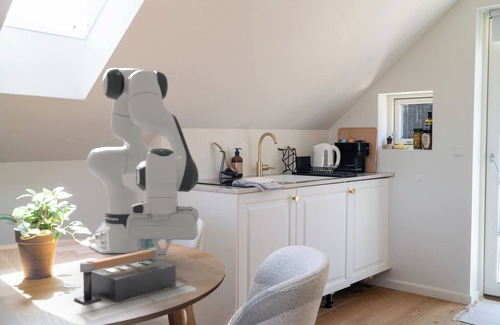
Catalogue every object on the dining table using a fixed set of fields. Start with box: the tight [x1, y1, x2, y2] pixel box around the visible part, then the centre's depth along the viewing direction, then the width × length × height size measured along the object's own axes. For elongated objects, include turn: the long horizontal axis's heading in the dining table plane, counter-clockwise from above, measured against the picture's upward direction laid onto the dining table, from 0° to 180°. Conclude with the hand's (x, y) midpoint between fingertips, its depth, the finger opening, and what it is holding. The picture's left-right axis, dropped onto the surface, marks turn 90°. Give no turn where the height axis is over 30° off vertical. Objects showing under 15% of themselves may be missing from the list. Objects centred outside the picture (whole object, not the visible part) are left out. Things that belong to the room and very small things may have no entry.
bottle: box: [136, 239, 157, 260], centre depth 167 cm, size 7×7×20 cm
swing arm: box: [79, 247, 162, 273], centre depth 144 cm, size 25×4×2 cm, turn 137°
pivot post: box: [73, 272, 102, 306], centre depth 136 cm, size 5×5×8 cm
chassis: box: [91, 258, 177, 303], centre depth 147 cm, size 14×20×6 cm
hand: (162, 254), depth 147 cm, fingers closed
